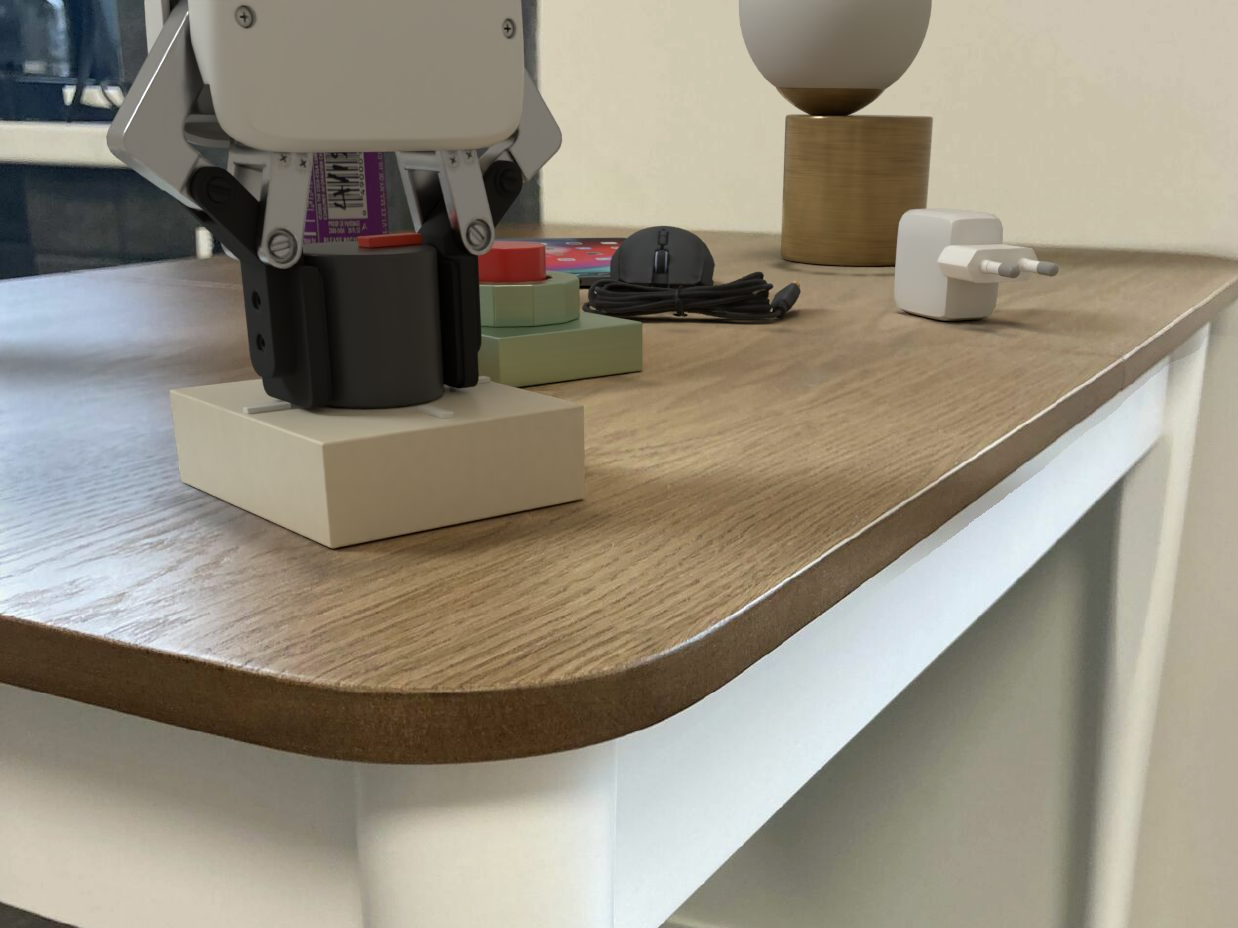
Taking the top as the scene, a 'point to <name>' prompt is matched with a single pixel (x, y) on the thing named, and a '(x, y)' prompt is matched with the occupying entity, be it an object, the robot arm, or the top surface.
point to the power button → (513, 262)
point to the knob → (381, 319)
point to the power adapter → (957, 263)
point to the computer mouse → (680, 281)
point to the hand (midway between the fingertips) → (372, 384)
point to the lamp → (843, 122)
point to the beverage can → (346, 197)
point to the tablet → (579, 256)
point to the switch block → (550, 334)
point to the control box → (380, 458)
